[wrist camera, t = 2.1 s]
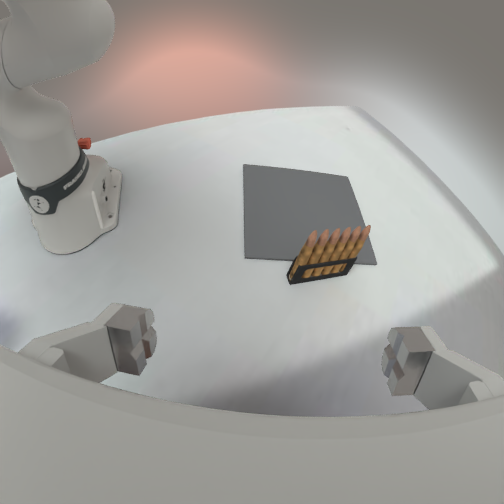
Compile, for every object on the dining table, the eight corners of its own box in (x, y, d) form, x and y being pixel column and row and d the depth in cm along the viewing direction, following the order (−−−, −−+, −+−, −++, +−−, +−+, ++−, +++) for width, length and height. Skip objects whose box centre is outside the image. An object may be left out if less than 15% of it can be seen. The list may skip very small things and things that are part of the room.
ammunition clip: (343, 265, 51) (372, 219, 41) (347, 274, 50) (377, 229, 40) (286, 274, 48) (307, 225, 38) (289, 284, 47) (311, 236, 37)
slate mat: (243, 165, 63) (243, 164, 62) (347, 178, 66) (347, 176, 65) (244, 258, 49) (245, 256, 48) (376, 265, 52) (377, 263, 51)
